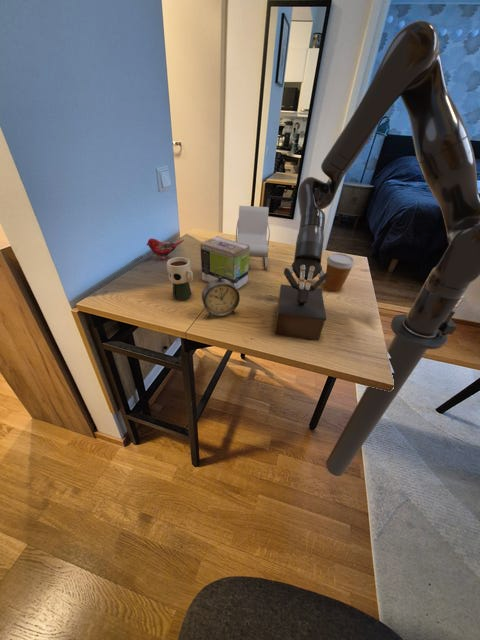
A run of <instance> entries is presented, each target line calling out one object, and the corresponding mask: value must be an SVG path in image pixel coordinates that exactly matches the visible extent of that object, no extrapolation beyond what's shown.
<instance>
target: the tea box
mask: <svg viewBox="0 0 480 640" xmlns="http://www.w3.org/2000/svg"><path fill="white" fill-rule="evenodd" d="M199 245H200V266H201V279H202V281H205V282H207V283H209V282H211V281H213V280H215V279H219V278H217V277H218V276H221V277H222V276H223V275H224V273H225V271H226V273H225V275H224V276H223V277H222V278H221V279H226V280H229V281H230V282H232V283H233V284H234V286H235V287H236V289H237V290H239V289H241V287H243V286H244V285H246V284H247V283H248V281H249V280H248V279H249V266H250V257H249V251H250V246H249V245H246V244H243V243H239V242H236V240H232V239H229V238H224V237H220V236H219V235H216V236H214V237H212V238H210V239H207V240H205V241H202V242H200V243H199ZM219 267H222V268H224V269H225V271H224V270H223V269H221V268H220V269H217V268H219ZM216 269H217V270H216ZM215 270H216V272H215V275H216V276H217V277H216V276H215V275H214V271H215Z"/></svg>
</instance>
